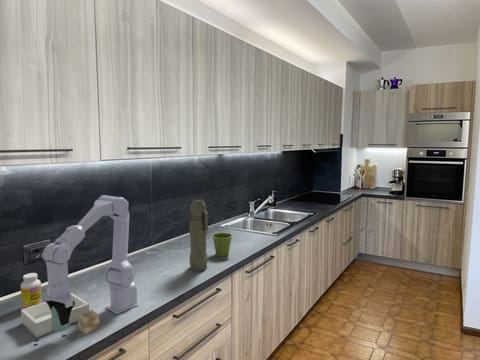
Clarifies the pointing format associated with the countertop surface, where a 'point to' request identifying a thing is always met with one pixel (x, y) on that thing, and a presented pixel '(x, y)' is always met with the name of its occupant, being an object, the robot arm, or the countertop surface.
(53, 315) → the teal cylinder
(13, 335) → the countertop surface
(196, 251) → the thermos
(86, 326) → the beech cube
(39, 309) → the tote
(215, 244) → the plant pot
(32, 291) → the supplement bottle
